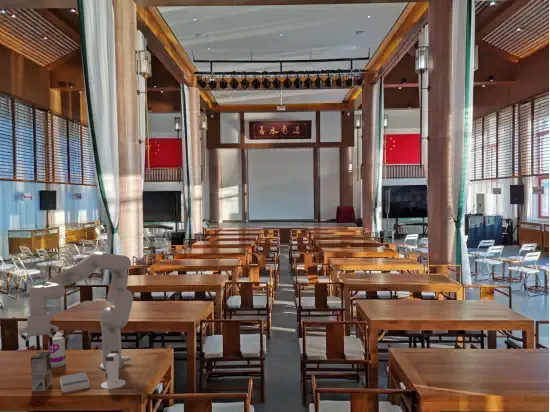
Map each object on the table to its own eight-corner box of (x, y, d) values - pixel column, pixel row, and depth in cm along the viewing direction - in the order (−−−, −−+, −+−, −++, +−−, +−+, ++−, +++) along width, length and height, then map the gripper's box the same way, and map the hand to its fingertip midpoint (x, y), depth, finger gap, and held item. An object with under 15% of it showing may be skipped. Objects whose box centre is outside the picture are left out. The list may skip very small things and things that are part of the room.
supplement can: (59, 368, 270) (58, 340, 270) (46, 367, 272) (44, 340, 271) (68, 363, 278) (67, 336, 278) (55, 362, 280) (54, 335, 279)
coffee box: (38, 384, 247) (37, 351, 247) (52, 383, 248) (51, 351, 247) (31, 391, 238) (30, 357, 238) (45, 390, 239) (44, 357, 238)
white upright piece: (104, 380, 250) (103, 350, 250) (128, 378, 251) (126, 349, 251) (98, 389, 238) (96, 358, 238) (122, 388, 239) (121, 356, 239)
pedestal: (86, 379, 252) (85, 371, 252) (89, 387, 241) (88, 379, 241) (60, 384, 246) (59, 376, 246) (62, 392, 236) (61, 384, 236)
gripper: (57, 308, 249) (58, 342, 249) (18, 312, 241) (19, 347, 242) (58, 310, 243) (59, 346, 243) (18, 315, 235) (19, 351, 235)
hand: (39, 346), depth 242 cm, fingers open, 9 cm apart
